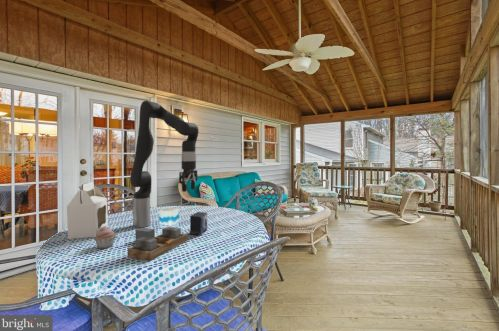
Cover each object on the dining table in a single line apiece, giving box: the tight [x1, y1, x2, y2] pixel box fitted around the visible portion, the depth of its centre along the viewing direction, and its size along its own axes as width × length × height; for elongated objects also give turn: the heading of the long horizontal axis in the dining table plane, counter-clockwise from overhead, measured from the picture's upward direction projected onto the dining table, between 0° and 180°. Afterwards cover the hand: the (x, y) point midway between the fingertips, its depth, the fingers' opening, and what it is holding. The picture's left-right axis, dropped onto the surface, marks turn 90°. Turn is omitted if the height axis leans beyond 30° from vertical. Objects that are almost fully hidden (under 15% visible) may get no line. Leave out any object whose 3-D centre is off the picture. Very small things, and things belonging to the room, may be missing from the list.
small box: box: [189, 211, 208, 236], centre depth 148 cm, size 11×6×10 cm, turn 168°
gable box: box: [66, 181, 109, 240], centre depth 148 cm, size 22×13×28 cm, turn 13°
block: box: [135, 227, 156, 240], centre depth 134 cm, size 8×4×6 cm, turn 69°
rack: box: [127, 226, 188, 262], centre depth 123 cm, size 12×26×7 cm, turn 159°
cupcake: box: [93, 226, 117, 249], centre depth 126 cm, size 9×9×10 cm
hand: (188, 190), depth 142 cm, fingers open, 8 cm apart
